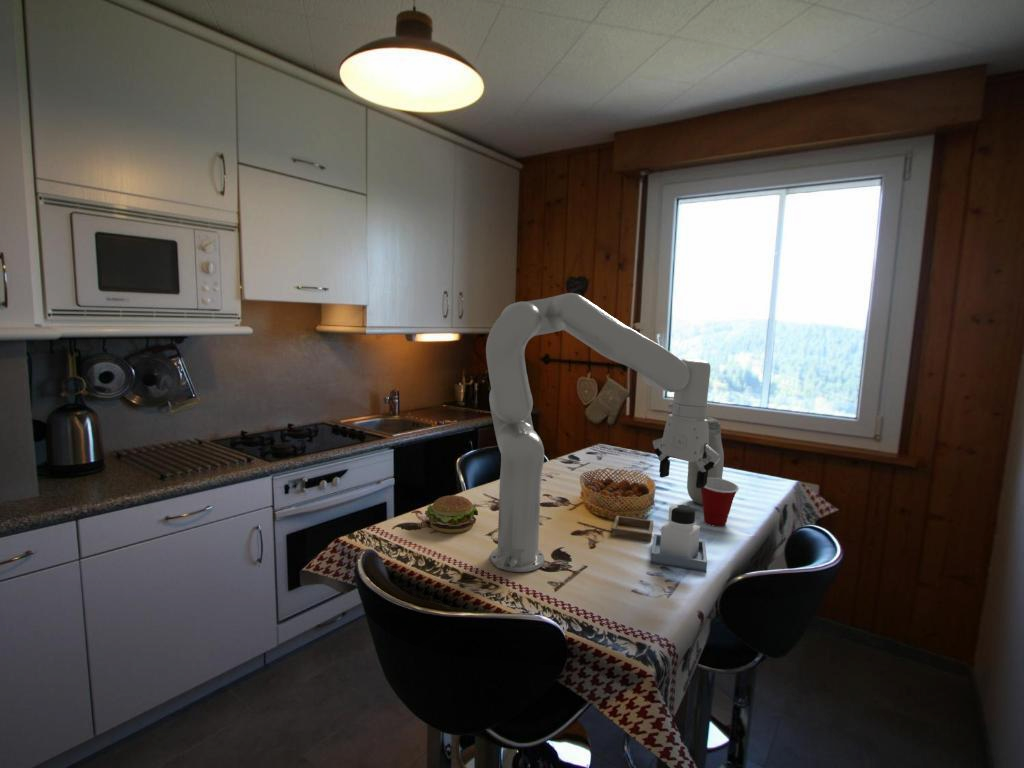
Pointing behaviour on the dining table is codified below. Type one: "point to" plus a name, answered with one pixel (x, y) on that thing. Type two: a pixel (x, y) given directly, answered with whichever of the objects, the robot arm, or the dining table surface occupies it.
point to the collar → (632, 533)
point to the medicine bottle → (680, 532)
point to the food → (451, 514)
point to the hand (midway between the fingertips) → (681, 481)
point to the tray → (676, 561)
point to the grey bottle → (715, 471)
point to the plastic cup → (717, 500)
